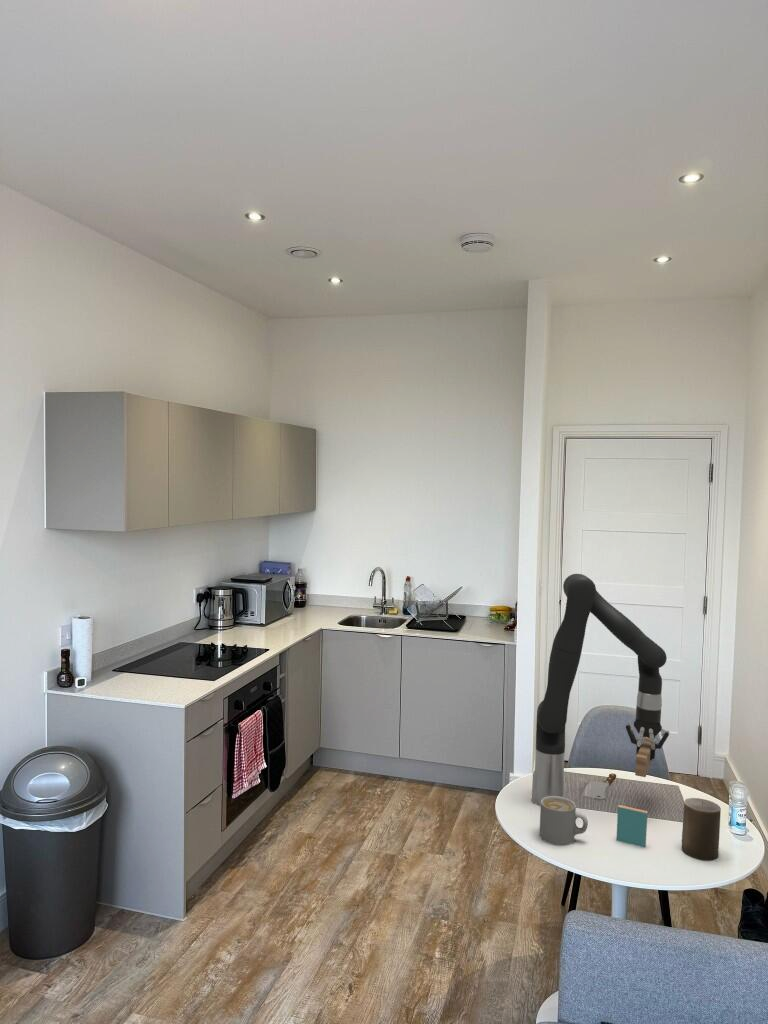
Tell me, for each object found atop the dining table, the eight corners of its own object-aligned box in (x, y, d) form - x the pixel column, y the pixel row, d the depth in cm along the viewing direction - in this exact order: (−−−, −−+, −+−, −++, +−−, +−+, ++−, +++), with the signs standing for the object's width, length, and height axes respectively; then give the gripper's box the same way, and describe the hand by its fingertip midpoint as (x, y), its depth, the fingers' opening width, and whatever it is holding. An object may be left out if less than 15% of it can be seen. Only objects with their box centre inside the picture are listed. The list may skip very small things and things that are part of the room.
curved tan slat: (645, 777, 220) (646, 758, 220) (635, 775, 222) (636, 756, 222) (654, 754, 240) (655, 737, 240) (644, 752, 241) (645, 735, 241)
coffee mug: (534, 838, 209) (536, 805, 208) (545, 825, 217) (547, 793, 217) (580, 852, 202) (582, 817, 201) (590, 838, 210) (591, 804, 210)
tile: (616, 840, 209) (618, 806, 209) (617, 838, 211) (618, 804, 210) (645, 847, 206) (646, 813, 205) (645, 845, 207) (647, 811, 207)
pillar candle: (711, 864, 198) (714, 811, 197) (675, 851, 204) (678, 799, 204) (723, 852, 205) (726, 800, 204) (688, 840, 211) (691, 789, 211)
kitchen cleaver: (594, 769, 261) (622, 775, 255) (594, 772, 261) (622, 777, 255) (573, 793, 240) (603, 800, 235) (573, 797, 240) (603, 803, 235)
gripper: (624, 704, 230) (621, 757, 231) (671, 712, 224) (667, 767, 224) (627, 698, 237) (624, 750, 237) (673, 706, 230) (670, 759, 231)
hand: (645, 758), depth 231 cm, fingers closed on curved tan slat, 3 cm apart
